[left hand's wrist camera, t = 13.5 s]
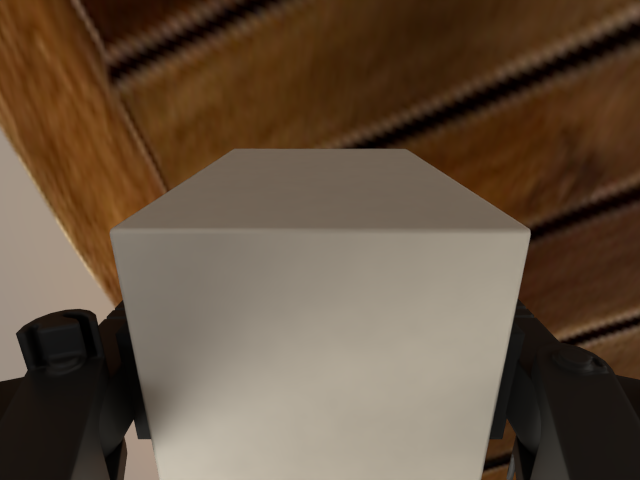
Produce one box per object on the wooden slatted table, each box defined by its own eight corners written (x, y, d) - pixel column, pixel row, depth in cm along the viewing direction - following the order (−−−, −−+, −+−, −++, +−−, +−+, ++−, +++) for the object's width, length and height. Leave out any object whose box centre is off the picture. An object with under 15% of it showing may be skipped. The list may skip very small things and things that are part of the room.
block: (232, 148, 14) (106, 229, 6) (407, 148, 14) (534, 229, 6) (246, 324, 17) (172, 555, 9) (393, 324, 17) (467, 556, 9)
